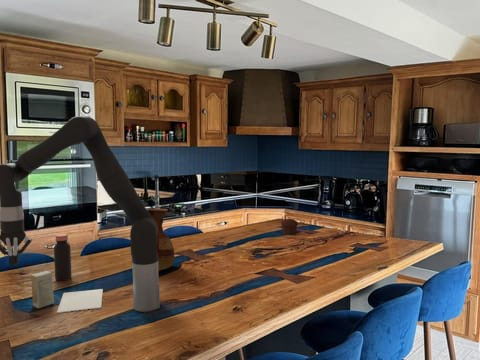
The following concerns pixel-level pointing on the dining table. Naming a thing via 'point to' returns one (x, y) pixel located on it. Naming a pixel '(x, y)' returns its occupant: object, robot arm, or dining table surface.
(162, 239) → the brown vase
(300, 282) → the dining table surface
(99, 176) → the robot arm
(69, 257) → the vinegar
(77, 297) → the mat
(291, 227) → the muffin
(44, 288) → the skincare box
